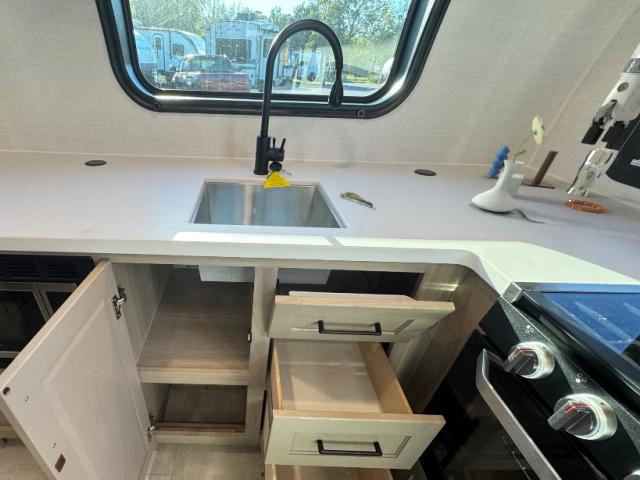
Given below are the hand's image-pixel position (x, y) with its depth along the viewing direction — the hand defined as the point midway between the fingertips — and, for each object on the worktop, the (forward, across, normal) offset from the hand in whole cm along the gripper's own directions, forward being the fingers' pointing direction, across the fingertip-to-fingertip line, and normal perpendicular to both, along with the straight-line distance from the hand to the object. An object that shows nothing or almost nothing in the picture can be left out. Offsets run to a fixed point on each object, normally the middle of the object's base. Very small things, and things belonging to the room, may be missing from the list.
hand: (597, 143), depth 89 cm
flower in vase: (+19, -22, +6) cm, 29 cm away
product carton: (+19, -8, +13) cm, 24 cm away
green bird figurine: (+19, -59, +25) cm, 66 cm away
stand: (+19, +19, +18) cm, 32 cm away
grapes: (+19, +14, +31) cm, 39 cm away
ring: (+18, +5, -4) cm, 19 cm away
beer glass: (+19, +20, +6) cm, 28 cm away
